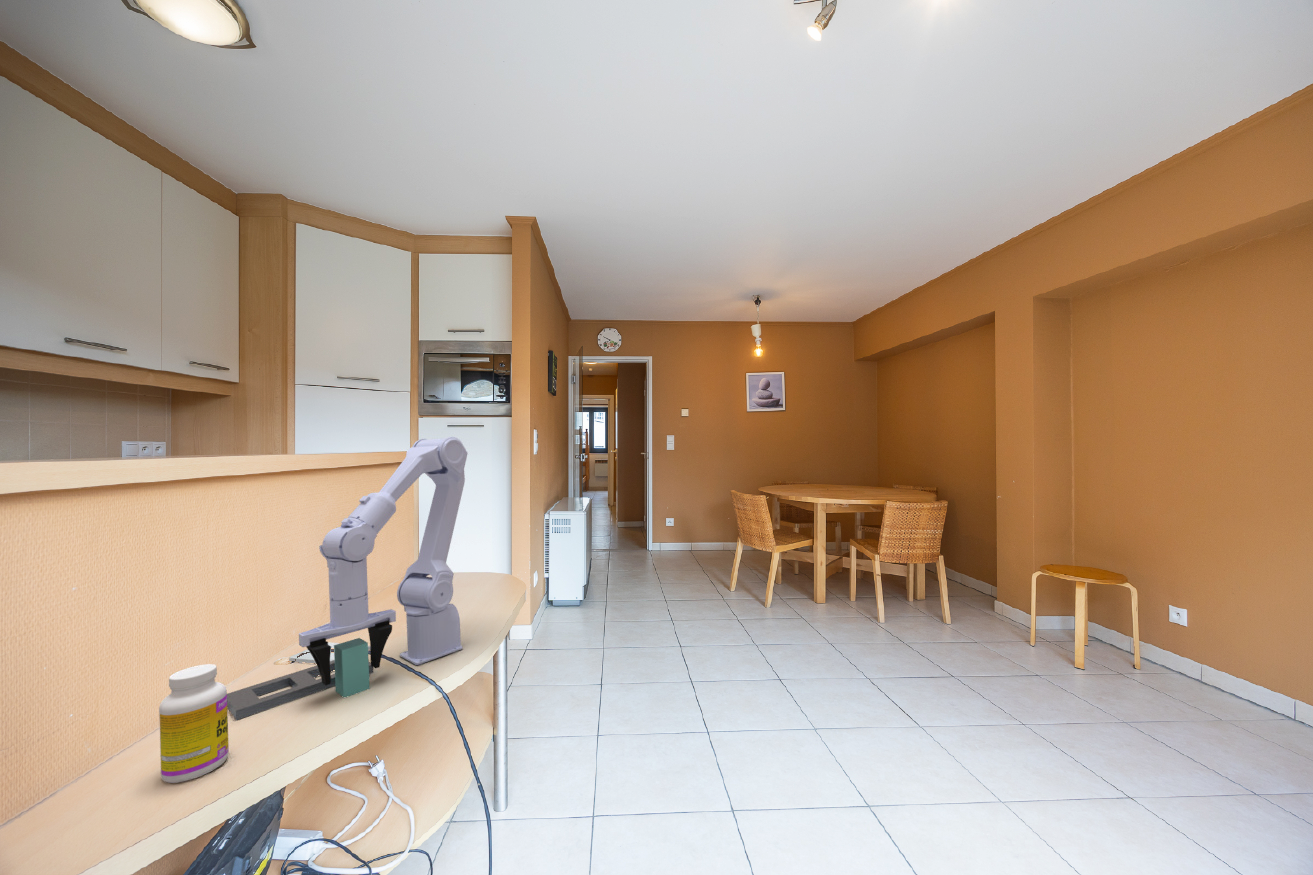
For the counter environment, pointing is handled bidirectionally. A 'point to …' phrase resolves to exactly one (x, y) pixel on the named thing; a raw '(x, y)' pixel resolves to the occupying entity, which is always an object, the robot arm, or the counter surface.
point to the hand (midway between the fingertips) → (351, 674)
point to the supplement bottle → (193, 724)
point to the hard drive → (308, 657)
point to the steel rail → (301, 683)
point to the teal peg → (351, 667)
